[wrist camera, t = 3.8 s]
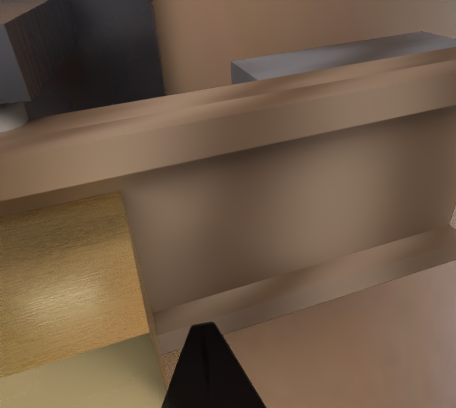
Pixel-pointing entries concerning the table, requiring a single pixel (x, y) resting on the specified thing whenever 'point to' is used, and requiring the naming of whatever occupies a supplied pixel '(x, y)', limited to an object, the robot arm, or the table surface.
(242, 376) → the robot arm
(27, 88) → the beam stand
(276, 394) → the table surface
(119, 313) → the yellow wooden cube
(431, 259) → the beam
